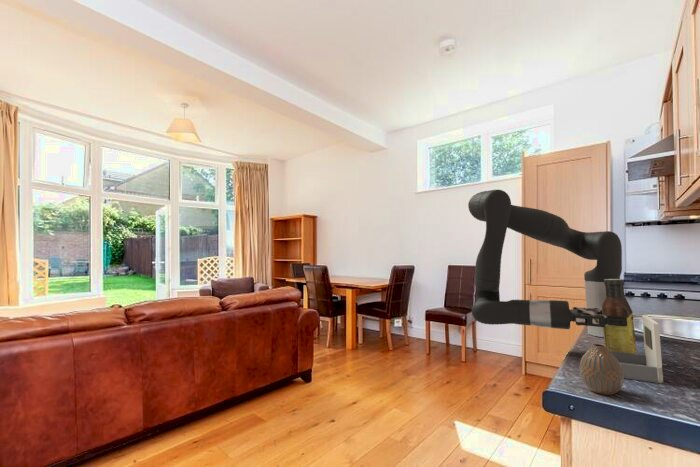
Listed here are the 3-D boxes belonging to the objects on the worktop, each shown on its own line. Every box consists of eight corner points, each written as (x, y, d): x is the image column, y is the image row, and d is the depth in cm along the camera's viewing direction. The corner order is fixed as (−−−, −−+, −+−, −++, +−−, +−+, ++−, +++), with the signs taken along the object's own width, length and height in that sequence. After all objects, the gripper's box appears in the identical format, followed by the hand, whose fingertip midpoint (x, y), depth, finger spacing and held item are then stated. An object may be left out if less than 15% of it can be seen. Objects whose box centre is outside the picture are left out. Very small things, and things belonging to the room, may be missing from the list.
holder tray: (590, 361, 83) (587, 312, 83) (650, 368, 77) (646, 315, 78) (595, 374, 74) (592, 319, 75) (663, 383, 68) (658, 323, 69)
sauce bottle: (643, 363, 81) (637, 280, 82) (613, 362, 82) (608, 280, 83) (626, 355, 87) (621, 278, 88) (599, 354, 88) (594, 278, 89)
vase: (611, 401, 61) (607, 351, 61) (572, 387, 67) (570, 343, 68) (633, 394, 64) (629, 347, 64) (594, 381, 70) (591, 339, 71)
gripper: (547, 303, 87) (628, 307, 79) (548, 297, 99) (617, 299, 91) (549, 333, 86) (630, 340, 78) (549, 322, 99) (619, 328, 90)
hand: (623, 318), depth 84 cm, fingers open, 8 cm apart
